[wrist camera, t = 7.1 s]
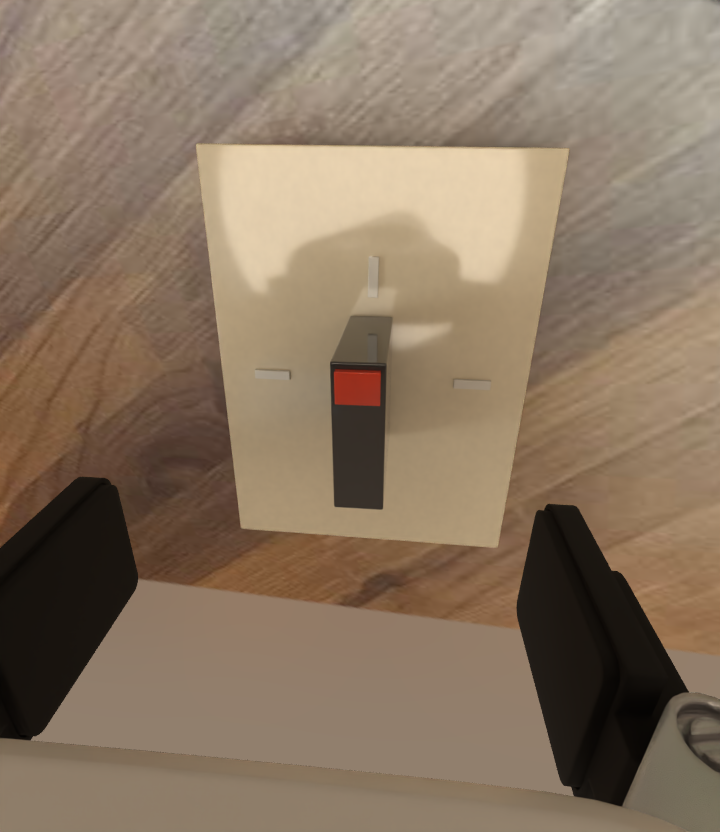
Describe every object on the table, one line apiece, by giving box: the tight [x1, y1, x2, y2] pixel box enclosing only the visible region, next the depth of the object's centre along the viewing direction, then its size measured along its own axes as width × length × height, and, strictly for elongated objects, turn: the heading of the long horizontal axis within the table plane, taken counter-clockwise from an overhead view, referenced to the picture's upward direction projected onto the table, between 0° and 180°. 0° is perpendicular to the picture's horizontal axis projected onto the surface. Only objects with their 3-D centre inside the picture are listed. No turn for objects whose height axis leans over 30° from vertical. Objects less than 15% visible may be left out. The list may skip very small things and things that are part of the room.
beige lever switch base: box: [196, 143, 570, 548], centre depth 20 cm, size 16×12×3 cm
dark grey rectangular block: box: [330, 316, 393, 510], centre depth 17 cm, size 5×2×5 cm, turn 0°
